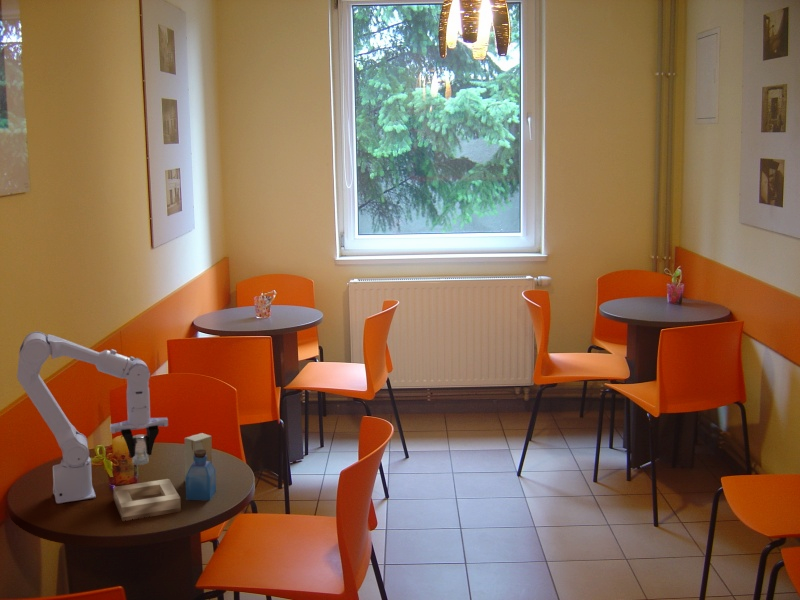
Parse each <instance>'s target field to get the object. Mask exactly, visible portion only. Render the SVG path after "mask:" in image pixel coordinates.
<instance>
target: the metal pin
mask: <svg viewBox="0 0 800 600" xmlns="http://www.w3.org/2000/svg"><path fill="white" fill-rule="evenodd" d="M148 463H149V455H148V436H147V434H136V435H133V458H132V464H133V465H136V466H143V465H147V464H148Z"/></svg>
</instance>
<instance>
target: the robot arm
mask: <svg viewBox="0 0 800 600" xmlns="http://www.w3.org/2000/svg"><path fill="white" fill-rule="evenodd" d="M50 356H51V360H54V359H58V358H60V357H64V356H65V357H68V358H71V359H74V360H78V361H82V362H86V363H89V364H91V365H95V368H96V369H97V372H101V373H104V374H107V375H110V376H113V377H116V378H119V379H126V386H127V388H126V410H127V412H126V413H127V420H124V421H121V422H117V423H109V431H110V433H111V434H116V433H119V432H120V433H121V435H122V437H123V439H124V441H125V444H126V446H127V449H128V455H129V457H130V458H132V459H133V436H134V435H133V431H135V430H143V429H145V432H146V435H147V436H148V456H151V455H152V453H153V449H154V444H155V441H156V439H157V436H158V434H159V432H160V429H159V427H169V419H168V417H167V416H166V417H151V400H150V399H151V398H150V397H151V395H150V387H149V385H150V381H149V380H150V378H151V373H150V369H149V367H148V365H147V363H146V362H145V361H143V360H142V359H141V358H140V357H136V358H135V357H134V356H132V355H131V356H130V357H128V356H126V355H123V354H121V353H120V354H119V353H117V350H116V349H113V348H111V349H110V350H108V349H104V350H103V351H100V352H99V351H96V350H94V349H92V348H89V347H86V346H83V345H81V344H78V343H77V342H73V341H71V340H68V339H64V338H62V337H59V336H56V335H53V334H49V333H48V334H46V333H44V332H42V331H32V332H29V333H28V334H27V335H26V336H25V337H24V339H23V341H22V343H21V344H20V347H19V353H18V360H17V361H18V364H17V372H16V373H17V374H16V378H17V381H18V382H19V384H20V385H21V387H22V389H23V390H24V391H25V393H26V395H27V396H28V398H29V399H30V400H31V403H32V404H33V405H34V406H35V408H36V409H37V411H38V413H39V414H40V416H41V418H42V420H43V421H44V422H45V423H46V425H47V426H48V428H49V429H50V431H51V432H52V434H53V435H54V437H55V439H56V443H57V444H58V447H59V448H60V449H61V453H62V459H61V461H60V463H59V464H55V465H52V479H53V480H52V481H53V486H52V493H53V495H54V500H55V503H56V504H63V503H69V502H70V503H71V502H76V501H77V502H78V501H83V500H88V499H95V498H96V497H97V496H96V495H97V494H96V492H95V489H94V486H93V482H92V481H93V478H92V477H93V476H92V458H91V457H90V450H89V448H88V445H89V442H88V441H89V440H88V439H87V436H86V435H84V433H80V432H79V431H78V430H77V428H76V427H75V425H73V424H72V423H71V421H70V420H69V418H68V417H67V416H66V414H65V412H64V411H63V410H62V407H61V406H60V404H59V403H58V402H57V400H56V398H55V397H54V395H53V394H52V392H51V390H50V389H49V388H48V386H47V384H46V383H45V382H44V380H43V378H42V377H41V375H40V373H41V370H42V368H43V367H42V366H43V364H45V362H46V361H47V360H48V359H49V357H50Z"/></svg>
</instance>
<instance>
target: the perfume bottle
mask: <svg viewBox="0 0 800 600" xmlns="http://www.w3.org/2000/svg"><path fill="white" fill-rule="evenodd" d="M193 460H194V463H193V464H192V465H191V467H190V469H189V471H188V473H187V475H186V481H185V500H186V501H211V500H212V498H213V496H214V495H215V493H216V492H217V485H216V484H217V480H216V479H217V478H216V474H217V473H216V468H215V466H214V465H213V462H212V463H211V462H210V461H206V460H207V455H206V450H203V449H200V450H195V451H194V456H193Z"/></svg>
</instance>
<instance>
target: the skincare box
mask: <svg viewBox="0 0 800 600" xmlns="http://www.w3.org/2000/svg"><path fill="white" fill-rule="evenodd" d="M212 443H213V442H212V435H210V434H206V433H205V432H204V433H203V432H200V433H197V434H192V435H190V436H187V437H184V481H185V482H186V475H187V473H188V471H189V469H190V467H191V465H192V464H193V463H194V460H193V456H194V451H195V450H200V449H203V450H206V455H207V460H206V461H210V462H211V463H212V464H213V460H212V459H213V457H212V456H213V451H212V449H213V448H212V447H213V444H212Z"/></svg>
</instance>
